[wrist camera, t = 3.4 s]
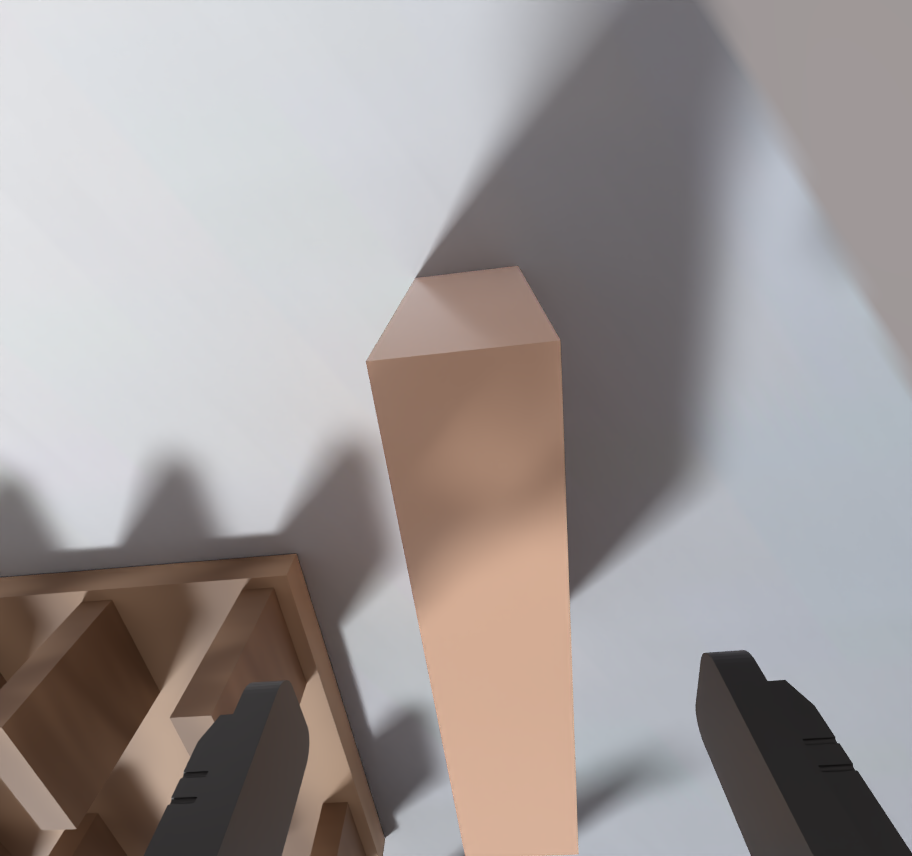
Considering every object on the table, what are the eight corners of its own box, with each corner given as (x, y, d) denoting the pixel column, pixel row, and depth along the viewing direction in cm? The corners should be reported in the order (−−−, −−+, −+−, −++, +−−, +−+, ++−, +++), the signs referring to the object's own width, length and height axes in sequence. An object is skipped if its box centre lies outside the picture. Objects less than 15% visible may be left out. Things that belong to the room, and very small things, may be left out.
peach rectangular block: (517, 265, 15) (560, 340, 8) (541, 622, 21) (578, 854, 14) (415, 277, 15) (365, 360, 8) (467, 627, 21) (465, 858, 14)
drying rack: (296, 553, 20) (226, 701, 14) (385, 838, 28) (362, 1006, 22) (-204, 593, 21) (-447, 741, 16) (17, 853, 29) (-91, 1012, 24)
